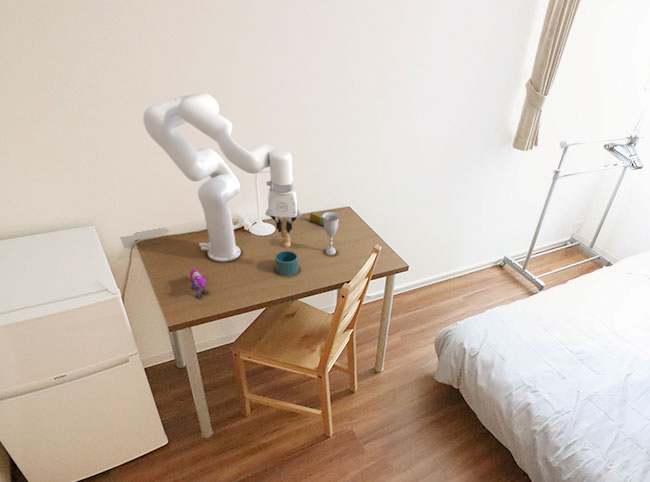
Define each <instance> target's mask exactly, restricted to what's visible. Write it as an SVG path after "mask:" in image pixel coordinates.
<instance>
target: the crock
mask: <svg viewBox="0 0 650 482" xmlns="http://www.w3.org/2000/svg"><path fill="white" fill-rule="evenodd" d="M274 255H275V256H274V264H275V272H277V273H278V274H280V275H284V276H291V275H295V274H297V273H298V272H299V255H298V254H297V253H296V252H295V251H292V250H282V251H278V252H276V254H274Z"/></svg>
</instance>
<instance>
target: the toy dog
mask: <svg viewBox="0 0 650 482" xmlns="http://www.w3.org/2000/svg"><path fill="white" fill-rule="evenodd" d="M206 276H207V275H206V274H203V276H202V275H201V272H200V271H199V270H198V269H196V268H193V269H191V270H190V272H189V277H190V282H191V285H192V288H193V289H194V290H196V293H197V298H199V299H200V298H201V296H200V290H199V289H200V288H202V291H203V294H204V295H207V291H206V289H205V287H206Z"/></svg>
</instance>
